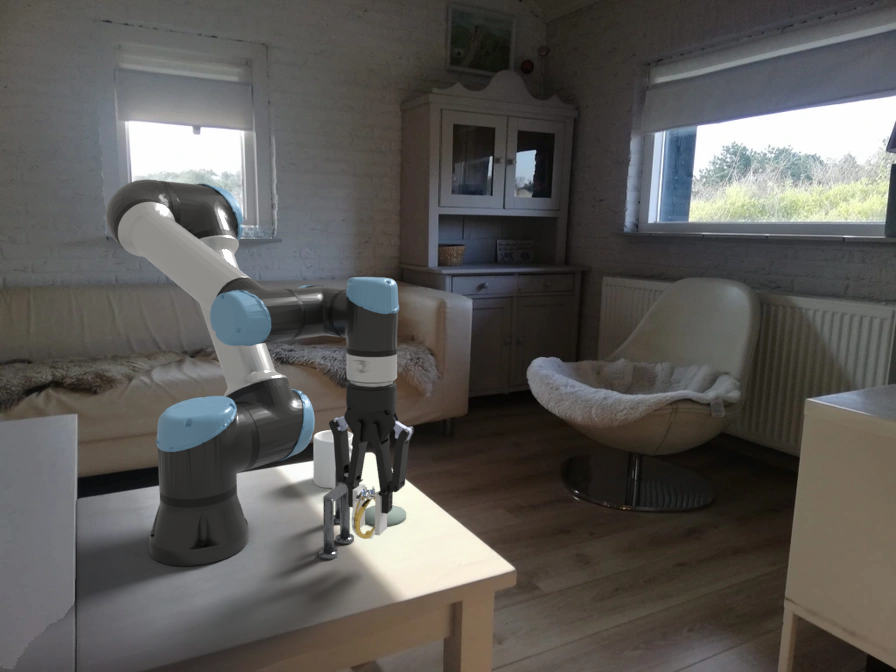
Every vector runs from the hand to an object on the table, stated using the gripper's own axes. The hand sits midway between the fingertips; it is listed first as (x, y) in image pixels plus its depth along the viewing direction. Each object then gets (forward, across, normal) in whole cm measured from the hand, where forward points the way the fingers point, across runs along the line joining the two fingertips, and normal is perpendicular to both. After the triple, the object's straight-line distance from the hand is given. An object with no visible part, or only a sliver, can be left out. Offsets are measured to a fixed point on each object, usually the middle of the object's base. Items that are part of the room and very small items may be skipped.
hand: (369, 528), depth 101 cm
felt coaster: (+6, -5, +16) cm, 18 cm away
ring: (+1, 0, -1) cm, 2 cm away
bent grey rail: (+6, -9, +6) cm, 12 cm away
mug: (+6, -20, +27) cm, 34 cm away
